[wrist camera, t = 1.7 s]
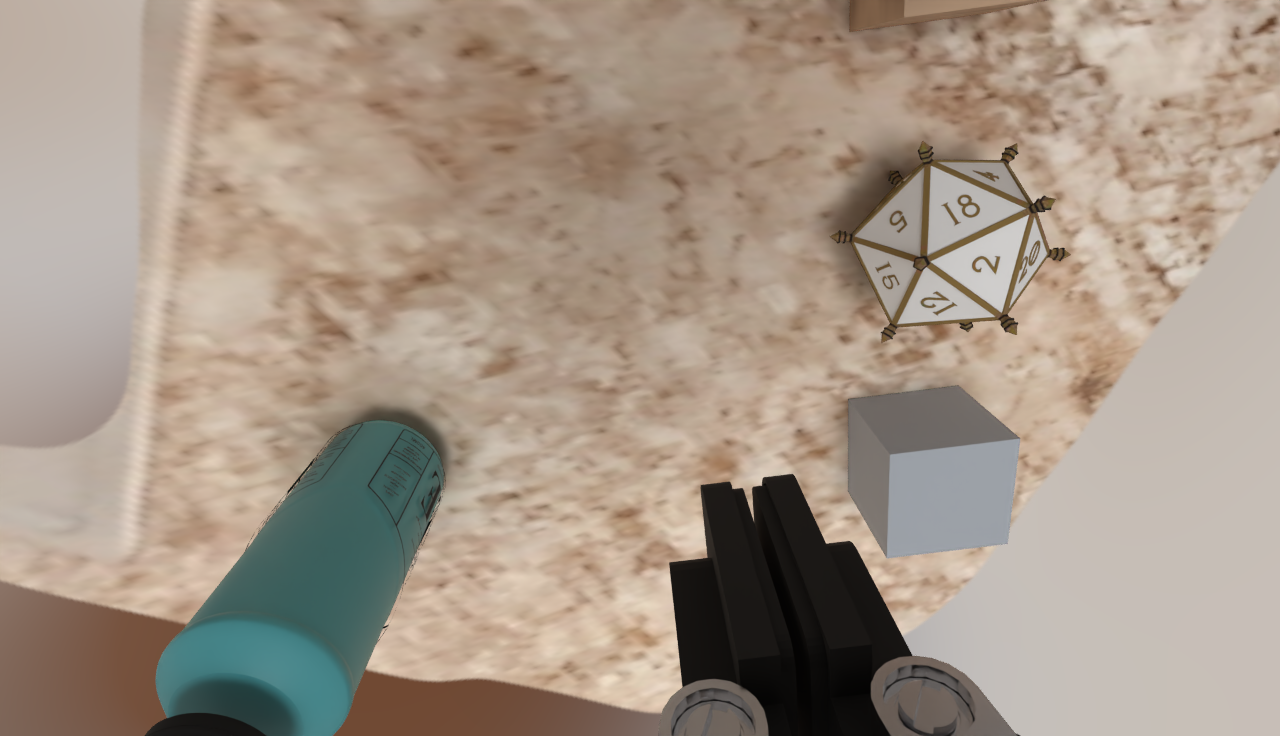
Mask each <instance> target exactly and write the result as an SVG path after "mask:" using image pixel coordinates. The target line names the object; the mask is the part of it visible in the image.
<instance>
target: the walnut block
mask: <svg viewBox="0 0 1280 736" xmlns="http://www.w3.org/2000/svg"><path fill="white" fill-rule="evenodd" d="M1042 1H1047V0H850V32H853V31H860V30H867V29H875V28H882V27H890V26H897V25H904V24H912V23H919V22H927V21H934V20H941V19H949V18H956V17H964V16H971V15H978V14H986V13H991V12H995V11H1000V10H1005V9H1009V8H1014V7H1019V6H1023V5H1028V4H1033V3H1037V2H1042Z"/></svg>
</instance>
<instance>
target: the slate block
mask: <svg viewBox="0 0 1280 736" xmlns="http://www.w3.org/2000/svg"><path fill="white" fill-rule="evenodd" d="M1019 445H1020V438H1019V437H1018V436H1017V435H1015V434H1014V433H1013V432H1012V431H1011V430H1010V429H1008V428H1007V427H1006V426H1005V425H1004V424H1003V423H1001V422H1000V421H999V420H998V419H997V418H996V417H994V416H993V415H992V414H991V413H990V412H989V411H987V410H986V409H985V408H984V407H983V406H982V405H980V404H979V403H978V402H977V401H976V400H975V399H973V398H972V397H971V396H970V395H969V394H968V393H966V392H965V391H964V390H963V389H962V388H961V387H959V386H951V387H942V388H934V389H926V390H918V391H910V392H902V393H894V394H886V395H878V396H870V397H862V398H854V399H848V492H849V494H850V496H851V497H852V499H853V501H854V502H855V504H856V506H857V508H858V509H859V511H860V513H861V515H862V516H863V518H864V520H865V521H866V523H867V525H868V527H869V528H870V530H871V532H872V534H873V535H874V537H875V539H876V540H877V542H878V544H879V546H880V547H881V549H882V551H883V553H884V554H885V556H886V558H894V557H902V556H911V555H919V554H927V553H936V552H944V551H952V550H961V549H969V548H977V547H986V546H994V545H1002V544H1008V536H1009V528H1010V520H1011V512H1012V503H1013V495H1014V487H1015V478H1016V470H1017V461H1018V453H1019Z"/></svg>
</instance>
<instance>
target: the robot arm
mask: <svg viewBox="0 0 1280 736" xmlns="http://www.w3.org/2000/svg"><path fill="white" fill-rule="evenodd" d="M752 495H753V510H754V521H753V518H752V515H751V512H750V508H749V505H748V502H747V499H746V496H745V493H744V490H743V488H739V489H732V485H731V483H730V482H723V483H714V484H706V485H701V497H702V507H703V517H704V527H705V536H706V546H707V556H708V558H703V559H695V560H687V561H678V562H670V563H669V565H670V575H671V584H672V593H673V603H674V612H675V621H676V630H677V640H678V649H679V658H680V667H681V677H682V686H683V688H681V689H680V690H679V691H678V692H676V693H675V694H674V695H673V696H671V698H670V699H669V701H668V702H667V704H666V705H665V707H664V708H663V711H662V715H661V719H660V723H659V731H658V736H1020V735H1018V734H1016V733H1015V732H1014V731H1013V730H1012V729H1011V727H1010V726H1009V725H1008V724H1007V722H1006V721H1005V720H1004V719H1003V718H1002V716H1001V715H1000V714H999V712H998V711H997V710H996V709H995V707H994V706H993V705H992V704H991V702H990V701H989V700H988V699H987V697H986V696H985V695H984V694H983V693H982V691H981V690H980V689H979V687H978V686H977V685H976V684H975V683H974V682H973V681H972V680H971V679H970V678H968V677H967V676H966V675H965V674H964V673H963V672H961V671H959V670H958V669H956V668H954V667H953V666H951V665H950V664H947V663H944V662H941V661H938V660H936V659H933V658H927V657H920V656H912V654H911V652H910V650H909V648H908V646H907V644H906V642H905V641H904V638H903V637H902V635H901V633H900V631H899V629H898V627H897V625H896V623H895V621H894V619H893V617H892V616H891V614H890V612H889V610H888V608H887V606H886V604H885V602H884V600H883V598H882V596H881V595H880V593H879V591H878V589H877V587H876V585H875V583H874V581H873V579H872V577H871V575H870V574H869V572H868V570H867V568H866V566H865V564H864V562H863V560H862V558H861V556H860V554H859V553H858V551H857V549H856V547H855V546H854V544H853V543H852V542H850V541H846V542H837V543H829V544H826V543H825V540H824V538H823V536H822V534H821V532H820V530H819V527H818V525H817V523H816V521H815V519H814V517H813V514H812V512H811V510H810V508H809V506H808V504H807V501H806V499H805V497H804V495H803V493H802V491H801V488H800V486H799V484H798V482H797V480H796V478H795V476H794V475H793V474H788V475H780V476H772V477H764V478H763V480H762V486H756V487H753V488H752Z"/></svg>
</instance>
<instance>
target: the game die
mask: <svg viewBox="0 0 1280 736" xmlns="http://www.w3.org/2000/svg"><path fill="white" fill-rule="evenodd" d="M932 148H933V147H931V146H929V145H928V144H926V143H925V142H923V141H922V144H921V146H920V148H919V150H918V153H919V156H920V159H921V160H923V163H922V164H921V165H919V166H918V167H917V168H916V169H914V170H913V171H912V172H911V173H909V174H908V175H907V176H906V177H904V178H902V177H901V175H900V174H899V172H898V171H896V172H895V171H890V177H889V181H891V184H895V187H894V188H893V189H892V190H891V191H890V192H889V193H888V194H887V195H886V197H885V198H884V199H883V200H882V201H881V202H880V203H879V204H878V205H877V207H876V208H875V209H874V210H873V211H872V212H871V213H870V214H869V215H868V216H867V218H866V219H865V220H864V221H863V222H862V223H861V224H860V225H859V226H858V228H857V229H856V230H855V231H854V232H853V233H852V234H848V233H846V231H845V232H841V231H840V230H839V232H838V233H836V234H834V235H832V236H830V237H831V238H832V239H834V240H835V241H836V242H837V243H840V242H843V243H845V242H851V244H852V246H853V248H854V250H855V252H856V255H857V257H858V259H859V261H860V263H861V265H862V267H863V269H864V271H865V273H866V275H867V277H868V279H869V281H870V283H871V285H872V287H873V289H874V291H875V293H876V296H877V298H878V300H879V302H880V304H881V306H882V308H883V310H884V312H885V314H886V316H887V318H888V320H889V322H890V324H889V326H887V327H885V328H884V331H883V332H881V333H882V341H881V343H883V342H885V341H887V340H889V339H893V338H892V337H893V335H895V334H896V333H895V330H896V328H897V327H910V326H924V325H938V324H952V323H959V324H960V325H961V326H960V328H961V329H964V330H966V331H967V332H969V331H970V329H971V328H972V327H973V324H972V322H980V321H994V320H1000V321H1001V326H1002V327H1004V330H1005V332H1009V333H1012V334H1015V335H1017V325H1018V322H1017V323H1016V322H1015V321H1014V318H1010V317H1009V316H1008V313H1009V311H1010V310H1011V308H1012V307H1013V306H1014V304H1015V303H1016V301H1017V300H1018V298H1019V297H1020V296H1021V294H1022V293H1023V291H1024V290H1025V288H1026V287H1027V286H1028V284H1029V283H1030V281H1031V280H1032V278H1033V277H1034V276H1035V274H1036V273H1037V271H1038V270H1039V268H1040V267H1041V266H1042V264H1043V263H1044V261H1045V260H1046V258H1048V257H1050V258H1052V259H1053V260H1055V259H1057V260H1059V261H1061V260H1062V259H1064V258H1066V257H1068V256H1070V255H1071V254H1069V253H1068V252H1067V251H1066V250H1065V248H1060V249H1058V248H1053V249H1052V250H1051V249H1049V246H1048V243H1047V240H1046V237H1045V234H1044V231H1043V228H1042V225H1041V222H1040V219H1039V216H1038V213H1037V212H1045V210H1051V206H1052V205H1053V203H1054V202H1055V200H1056V199H1053V198H1048V197H1046V196H1043V197H1042V198H1041V199H1037V200H1036V202H1035V203H1034V204H1033V202H1032V201H1031V199H1030V198H1029V196H1028V195H1027V193H1026V191H1025V190H1024V188H1023V187H1022V185H1021V183H1020V182H1019V180H1018V179H1017V177H1016V176H1015V174H1014V172H1013V171H1012V169H1011V168H1010V166H1009V162H1010V161H1011V160H1013V159H1014V158H1015V155H1017V154H1018V152H1017V143H1016V144H1014V145H1012V146H1010V147H1008V148H1005V152H1004V153H1002V159H1001V160H932V155H933V154H934V152H932Z"/></svg>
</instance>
